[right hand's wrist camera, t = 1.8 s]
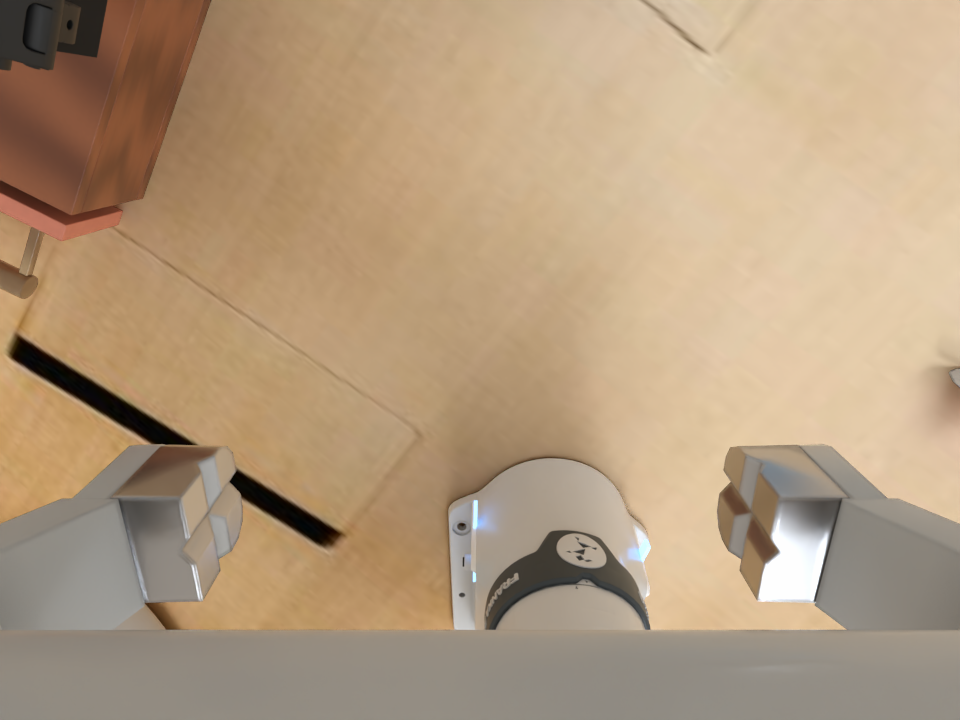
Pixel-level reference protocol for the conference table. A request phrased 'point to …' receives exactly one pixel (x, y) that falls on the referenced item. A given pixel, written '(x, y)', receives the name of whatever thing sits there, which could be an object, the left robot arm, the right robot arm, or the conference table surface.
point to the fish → (955, 376)
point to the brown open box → (99, 108)
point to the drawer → (41, 222)
